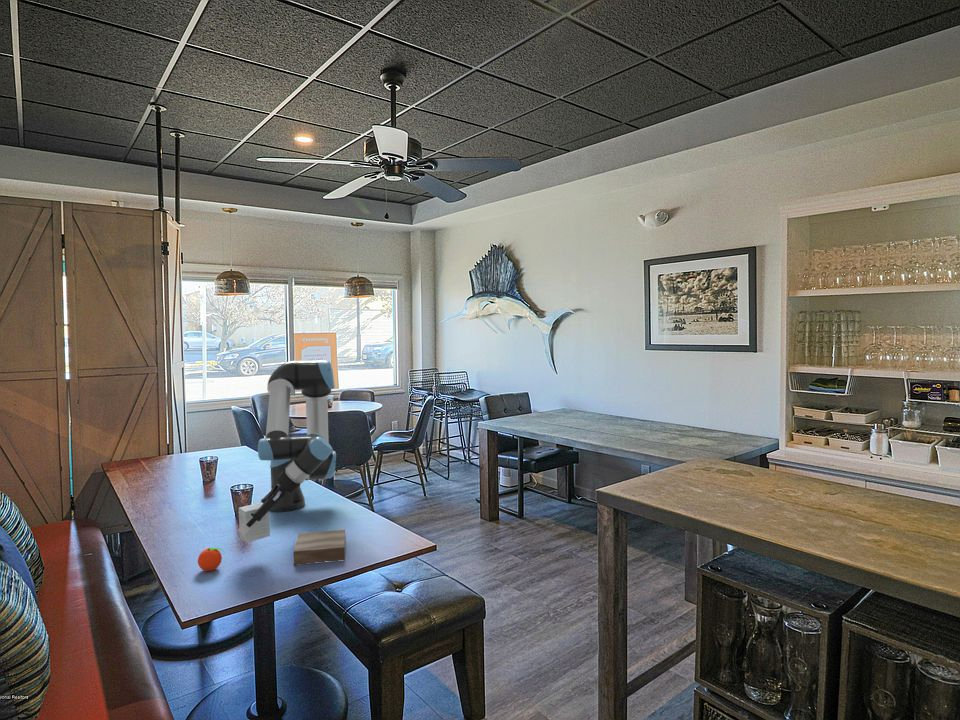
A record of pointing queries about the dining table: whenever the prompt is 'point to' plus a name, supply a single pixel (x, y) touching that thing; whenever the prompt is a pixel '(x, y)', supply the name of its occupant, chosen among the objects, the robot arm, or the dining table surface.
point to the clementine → (209, 559)
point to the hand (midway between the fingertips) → (244, 526)
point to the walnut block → (319, 547)
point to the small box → (259, 528)
